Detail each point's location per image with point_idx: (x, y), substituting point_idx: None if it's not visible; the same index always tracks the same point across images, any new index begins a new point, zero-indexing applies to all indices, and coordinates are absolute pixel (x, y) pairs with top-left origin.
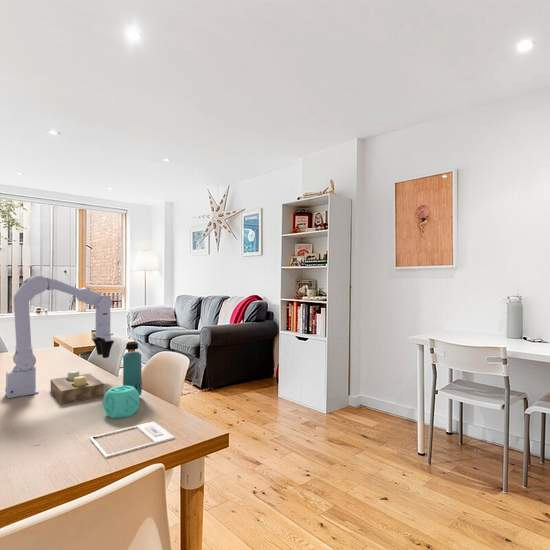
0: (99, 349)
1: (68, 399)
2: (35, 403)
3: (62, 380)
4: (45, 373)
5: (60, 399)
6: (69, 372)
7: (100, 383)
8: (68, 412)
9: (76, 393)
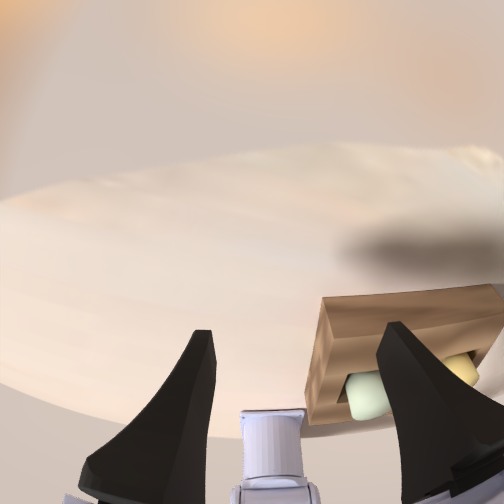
0: (208, 400)
1: None
2: None
3: None
4: (48, 357)
5: None
6: (365, 417)
7: (501, 320)
8: (493, 354)
9: None
